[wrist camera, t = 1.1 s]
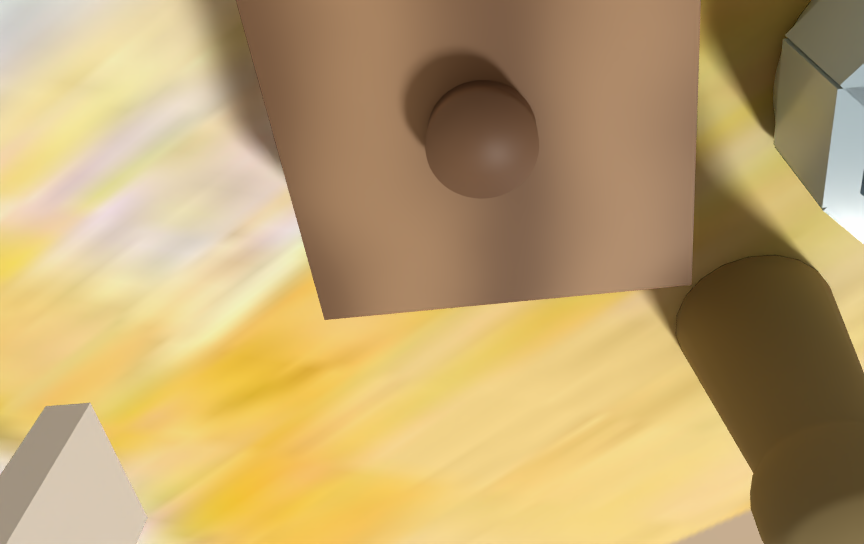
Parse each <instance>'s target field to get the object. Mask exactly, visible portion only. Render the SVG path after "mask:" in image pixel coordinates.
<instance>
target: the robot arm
mask: <svg viewBox="0 0 864 544" xmlns="http://www.w3.org/2000/svg"><path fill="white" fill-rule="evenodd" d="M147 518H148V517H147V515H146V513H145V511H144V509H143V507H142V505H141V503H140V501H139V499H138V497H137V495H136V493H135V491H134V489H133V487H132V485H131V483H130V481H129V479H128V477H127V475H126V473H125V471H124V469H123V467H122V465H121V463H120V461H119V459H118V457H117V455H116V453H115V451H114V449H113V447H112V445H111V443H110V441H109V439H108V437H107V435H106V433H105V431H104V429H103V427H102V425H101V423H100V421H99V419H98V417H97V415H96V413H95V411H94V409H93V407H92V405H91V403H83V404H70V405H57V406H46V407H45V408H44V410H43V411H42V413H41V414H40V416H39V417H38V419H37V420H36V422H35V423H34V425H33V426H32V428H31V429H30V431H29V432H28V434H27V435H26V437H25V438H24V440H23V442H22V443H21V445H20V446H19V448H18V449H17V451H16V452H15V454H14V455H13V457H12V458H11V460H10V461H9V463H8V464H7V466H6V467H5V469H4V470H3V472H2V473H1V475H0V544H136V543H137V541H138V539H139V536H140V534H141V532H142V529H143V527H144V525H145V522H146V520H147Z"/></svg>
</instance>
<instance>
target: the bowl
mask: <svg viewBox="0 0 864 544" xmlns="http://www.w3.org/2000/svg"><path fill="white" fill-rule="evenodd" d="M785 36H786V37H787V38H786V39H783V44H782V52H781V55H780V59H779V62H778V65H777V69H776V74H775V80H774V87H773V108H774V115H775V121H776V122H775V134H774V145H775V148H776V149H777V151H778V152H779V153H780V155H781V156H782V157H783V159H784V160H785V161H786V162H787V164H788V165H789V166H790V168H791V169H792V170H793V172H794V173H795V174H796V176H797V177H798V178H799V180H800V181H801V182H802V183H803V185H804V186H805V187H806V189H807V190H808V191H809V193H810V194H811V195H812V197H813V198H814V199H815V201H816V202H817V203H818V205H819V206H820V207H821V208H822V210H823V211H824V212H825V213H827V214H828V215H829V216H830V217H831V218H833V219H834V220H835V221H836V222H838V223H839V224H840V225H841V226H842V227H844V228H845V229H846V230H847V231H848V232H850V233H851V234H852V235H853V236H855V237H856V238H857V239H858V240H859V241H861V242H862V243H863V244H864V0H811V1H810V3H809V4H808V6H807V7H806V8H805V10H804V11H803V13H802V14H801V15H800V17H799V18H798V20H797V22H796V23H795V25H794V26H793V27H792V28H791V29H790V30H789V31H788V32H787V33H786V34H785Z"/></svg>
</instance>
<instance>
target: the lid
mask: <svg viewBox="0 0 864 544" xmlns="http://www.w3.org/2000/svg"><path fill="white" fill-rule="evenodd" d="M236 2H237V6H238V9H239V13H240V17H241V20H242V24H243V27H244V31H245V35H246V38H247V42H248V45H249V49H250V53H251V56H252V60H253V63H254V67H255V71H256V74H257V78H258V81H259V85H260V89H261V92H262V96H263V99H264V103H265V107H266V110H267V114H268V117H269V121H270V125H271V128H272V132H273V135H274V139H275V143H276V146H277V150H278V153H279V157H280V161H281V164H282V168H283V171H284V175H285V179H286V182H287V186H288V190H289V193H290V197H291V200H292V204H293V208H294V211H295V215H296V218H297V222H298V226H299V229H300V233H301V236H302V240H303V244H304V247H305V251H306V254H307V258H308V262H309V265H310V269H311V272H312V276H313V280H314V283H315V287H316V290H317V294H318V298H319V301H320V305H321V308H322V312H323V316H324V319H325V320H329V319H339V318H350V317H360V316H371V315H381V314H392V313H402V312H413V311H423V310H434V309H444V308H455V307H465V306H476V305H486V304H497V303H507V302H518V301H528V300H539V299H550V298H560V297H571V296H581V295H592V294H602V293H613V292H623V291H634V290H644V289H655V288H665V287H676V286H686V285H692V259H693V227H694V196H695V165H696V134H697V102H698V71H699V40H700V8H701V0H236Z"/></svg>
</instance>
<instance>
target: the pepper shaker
mask: <svg viewBox="0 0 864 544" xmlns="http://www.w3.org/2000/svg"><path fill="white" fill-rule="evenodd" d="M676 336H677V339H678V341H679V344H680V347H681V350H682V352H683V354H684V355H685V357H686V359H687V360H688V362H689V364H690V365H691V367H692V369H693V371H694V372H695V374H696V376H697V377H698V379H699V381H700V383H701V384H702V386H703V388H704V389H705V391H706V393H707V395H708V396H709V398H710V400H711V401H712V403H713V405H714V406H715V408H716V410H717V412H718V413H719V415H720V417H721V418H722V420H723V422H724V424H725V425H726V427H727V429H728V430H729V432H730V434H731V435H732V437H733V439H734V441H735V442H736V444H737V446H738V447H739V449H740V451H741V453H742V454H743V456H744V458H745V459H746V461H747V463H748V465H749V466H750V468H751V470H752V471H753V473H754V474H753V476H752V483H751V490H750V502H751V511H752V514H753V516H754V519H755V522H756V525H757V528H758V531H759V534H760V536H761V539H762V541H763V543H764V544H864V372H863V370H862V367H861V365H860V362H859V360H858V357H857V354H856V352H855V349H854V347H853V344H852V342H851V339H850V337H849V334H848V332H847V329H846V327H845V324H844V322H843V319H842V316H841V314H840V311H839V309H838V306H837V304H836V301H835V299H834V296H833V294H832V291H831V289H830V286H829V285H828V284H827V282H826V281H825V280H824V279H823V277H822V276H821V275H820V273H819V272H818V271H817V270H815V269H813V268H812V267H810V266H808V265H806V264H805V263H803V262H801V261H799V260H796V259H791V258H786V257H781V256H776V255H769V256H756V257H747V258H744V259H741V260H738V261H735V262H732V263H729V264H726V265H723V266H721V267H720V268H718V269H717V270H715V271H713V272H712V273H710V274H709V275H707V276H705V277H704V278H702V279H701V280H700V281H699V282H698V283H697V284H696V285H695V287H694V288H693V289H692V290H691V291H690V292H689V293H688V294H687V295H686V297H685V299H684V301H683V303H682V305H681V307H680V310H679V312H678V314H677V322H676Z"/></svg>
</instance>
